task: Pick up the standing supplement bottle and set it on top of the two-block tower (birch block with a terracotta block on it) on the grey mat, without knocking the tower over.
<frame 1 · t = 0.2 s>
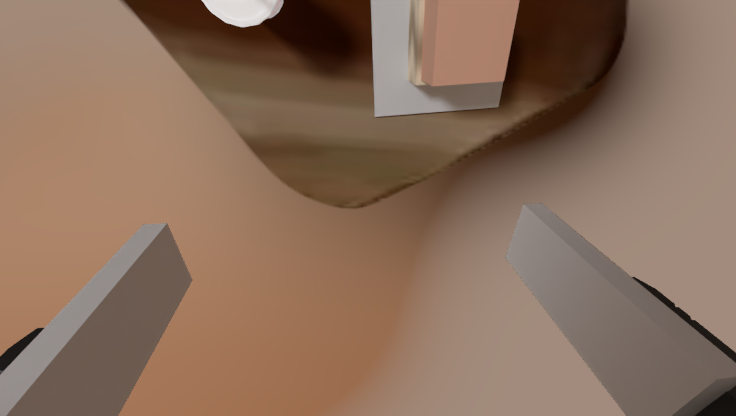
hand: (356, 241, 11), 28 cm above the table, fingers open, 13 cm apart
tower top block: (457, 39, 29), point 4 cm above the table, touching tower base block
tower base block: (443, 38, 32), resting on tower mat, touching tower top block
tower mat: (442, 38, 32), on the table
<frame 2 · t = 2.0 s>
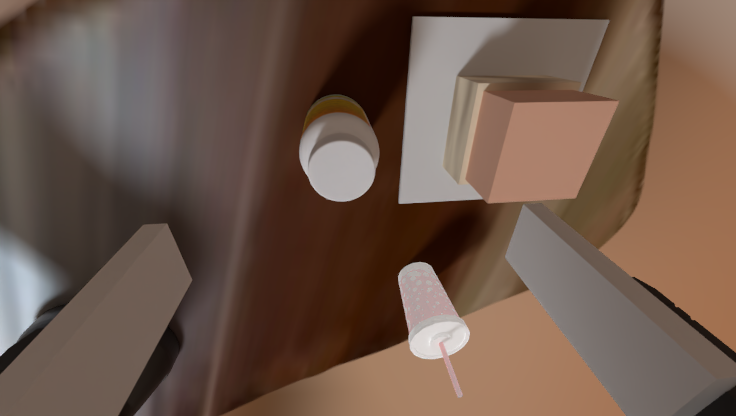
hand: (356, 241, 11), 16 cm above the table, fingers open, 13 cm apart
tower top block: (515, 137, 23), point 4 cm above the table, touching tower base block
tower base block: (490, 123, 26), resting on tower mat, touching tower top block
tower mat: (488, 122, 26), on the table
beverage cup: (415, 274, 36), on the table
supplement bottle: (336, 125, 25), on the table
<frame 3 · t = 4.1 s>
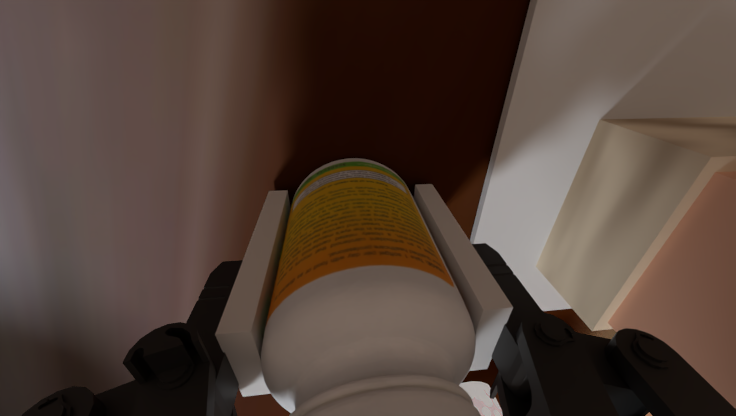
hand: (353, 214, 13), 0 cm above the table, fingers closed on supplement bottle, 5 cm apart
tower top block: (735, 254, 11), point 4 cm above the table, touching tower base block
tower base block: (637, 200, 14), resting on tower mat, touching tower top block
tower mat: (630, 196, 14), on the table
beverage cup: (463, 393, 24), on the table
supplement bottle: (352, 208, 13), on the table, touching gripper
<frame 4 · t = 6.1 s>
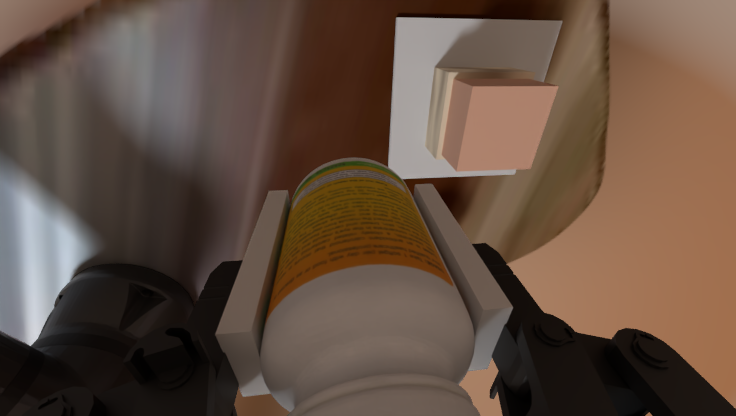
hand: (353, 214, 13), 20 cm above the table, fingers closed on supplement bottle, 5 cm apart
tower top block: (482, 118, 27), point 4 cm above the table, touching tower base block
tower base block: (465, 108, 30), resting on tower mat, touching tower top block
tower mat: (464, 108, 31), on the table
supplement bottle: (351, 207, 13), point 19 cm above the table, touching gripper
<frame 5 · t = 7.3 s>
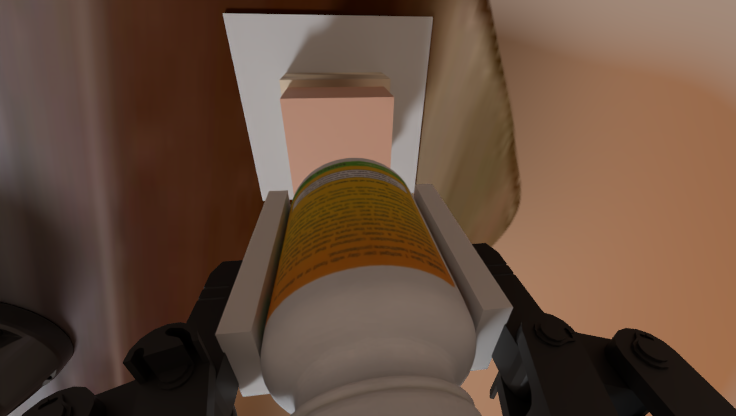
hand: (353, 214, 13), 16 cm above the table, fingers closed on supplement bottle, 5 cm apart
tower top block: (338, 134, 23), point 4 cm above the table, touching tower base block
tower base block: (337, 120, 26), resting on tower mat, touching tower top block
tower mat: (336, 119, 26), on the table
supplement bottle: (352, 208, 13), point 16 cm above the table, touching gripper
when the fingers open (10 cm above the table, at t = 8.4 s): supplement bottle drops 1 cm, resting on tower top block.
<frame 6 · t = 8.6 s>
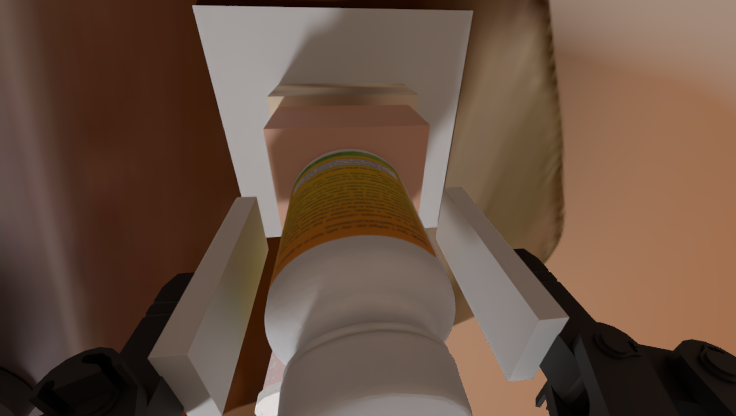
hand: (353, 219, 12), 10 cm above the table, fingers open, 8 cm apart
tower top block: (346, 165, 17), point 4 cm above the table, touching supplement bottle, tower base block
tower base block: (344, 143, 21), resting on tower mat, touching tower top block
tower mat: (344, 141, 21), on the table
beverage cup: (303, 313, 31), on the table
supplement bottle: (348, 196, 14), point 8 cm above the table, touching tower top block
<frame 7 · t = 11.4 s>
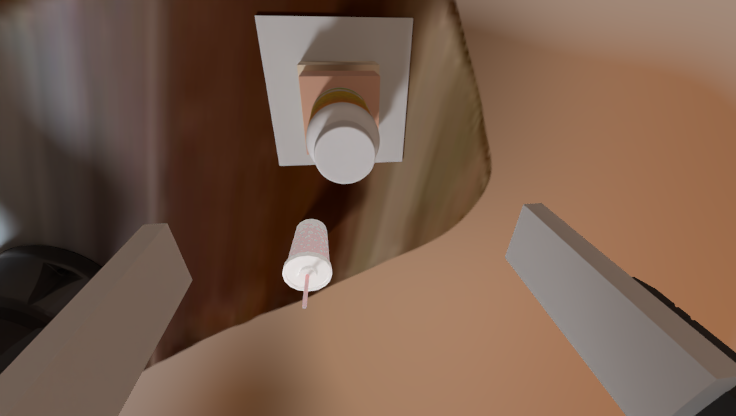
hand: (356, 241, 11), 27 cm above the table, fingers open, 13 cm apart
tower top block: (340, 107, 30), point 4 cm above the table, touching supplement bottle, tower base block
tower base block: (339, 99, 33), resting on tower mat, touching tower top block
tower mat: (339, 98, 34), on the table
beverage cup: (311, 230, 43), on the table
supplement bottle: (340, 116, 27), point 8 cm above the table, touching tower top block
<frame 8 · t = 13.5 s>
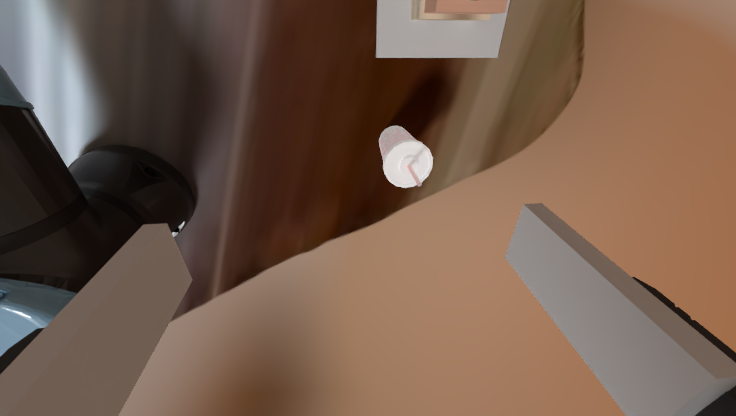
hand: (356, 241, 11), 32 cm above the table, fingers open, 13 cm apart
beverage cup: (393, 140, 42), on the table
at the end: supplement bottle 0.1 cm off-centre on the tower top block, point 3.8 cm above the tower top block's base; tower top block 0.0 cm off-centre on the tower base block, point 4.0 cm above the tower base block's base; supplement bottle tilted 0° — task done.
